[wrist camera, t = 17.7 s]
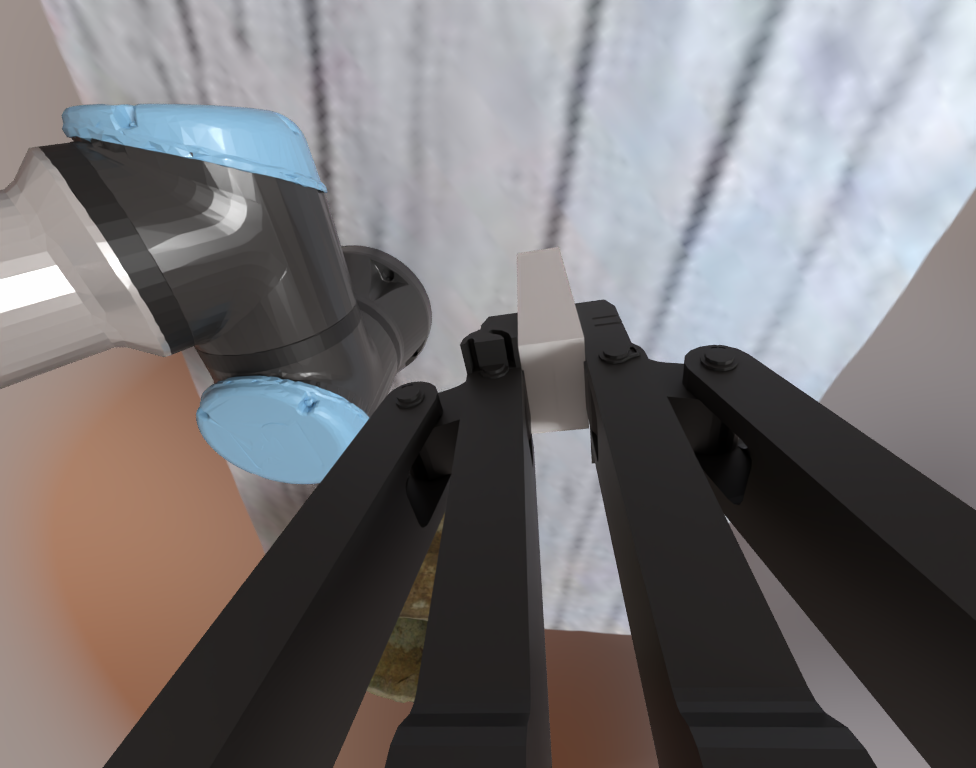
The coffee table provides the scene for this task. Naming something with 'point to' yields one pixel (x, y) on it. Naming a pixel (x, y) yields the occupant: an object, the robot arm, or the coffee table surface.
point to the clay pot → (408, 635)
